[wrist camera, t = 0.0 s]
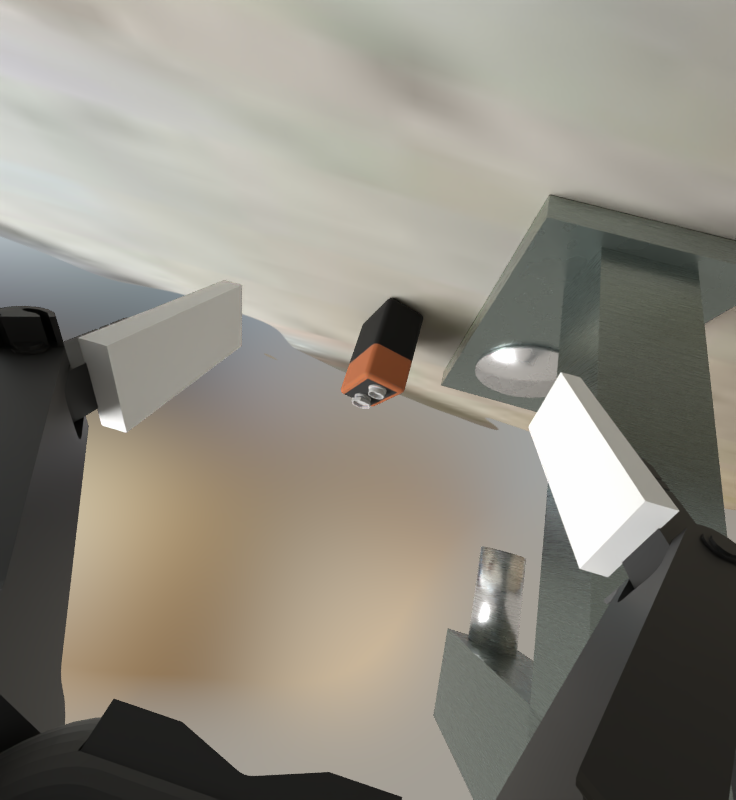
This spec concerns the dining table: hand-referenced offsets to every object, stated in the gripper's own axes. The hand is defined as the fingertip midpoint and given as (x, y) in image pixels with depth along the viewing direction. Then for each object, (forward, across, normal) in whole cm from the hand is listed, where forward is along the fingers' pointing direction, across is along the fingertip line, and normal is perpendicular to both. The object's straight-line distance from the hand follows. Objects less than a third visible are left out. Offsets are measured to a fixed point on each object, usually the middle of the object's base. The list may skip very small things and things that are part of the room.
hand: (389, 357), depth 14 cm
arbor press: (+23, +14, -5) cm, 27 cm away
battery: (+24, -1, -6) cm, 25 cm away
